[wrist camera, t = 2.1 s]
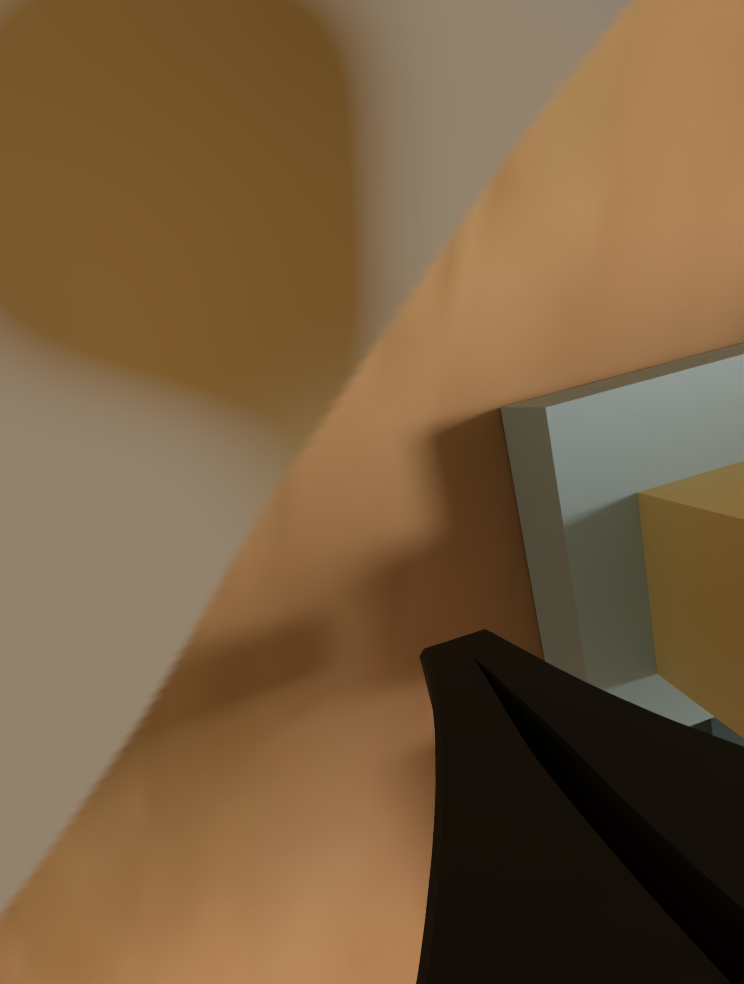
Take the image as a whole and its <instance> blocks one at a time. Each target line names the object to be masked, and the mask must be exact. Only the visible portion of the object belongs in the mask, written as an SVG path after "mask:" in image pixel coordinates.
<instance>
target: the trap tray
mask: <svg viewBox="0 0 744 984" xmlns="http://www.w3.org/2000/svg"><path fill="white" fill-rule="evenodd" d="M500 409H501V415H502V421H503V426H504V432H505V438H506V443H507V449H508V455H509V460H510V466H511V472H512V477H513V483H514V489H515V495H516V500H517V506H518V512H519V517H520V523H521V529H522V534H523V540H524V546H525V552H526V557H527V563H528V569H529V574H530V580H531V586H532V591H533V597H534V603H535V609H536V614H537V620H538V626H539V631H540V637H541V643H542V648H543V654H544V660H545V662H547V663H549V664H551V665H553V666H555V667H557V668H559V669H561V670H563V671H565V672H567V673H569V674H571V675H573V676H575V677H577V678H579V679H581V680H583V681H585V682H587V683H589V684H591V685H593V686H595V687H598V688H600V689H602V690H604V691H606V692H608V693H610V694H613V695H615V696H617V697H619V698H622V699H624V700H626V701H629V702H631V703H633V704H635V705H638V706H640V707H642V708H645V709H647V710H649V711H651V712H654V713H656V714H659V715H661V716H664V717H666V718H669V719H671V720H674V721H676V722H679V723H681V724H684V725H686V726H689V727H692V728H695V729H697V730H700V731H703V732H706V733H708V734H711V735H714V736H716V737H719V738H722V739H725V740H727V741H730V742H733V743H736V744H738V745H741V746H744V739H743V738H742V737H741V736H739V735H738V734H737V733H735V732H734V731H733V730H731V729H730V728H729V727H727V726H726V725H725V724H723V723H722V722H721V721H719V720H718V719H717V718H715V717H714V716H713V715H711V714H710V713H709V712H707V711H706V710H705V709H703V708H702V707H701V706H699V705H698V704H697V703H695V702H694V701H693V700H691V699H690V698H689V697H687V696H686V695H685V694H683V693H682V692H681V691H679V690H678V689H677V688H675V687H674V686H673V685H671V684H670V683H669V682H667V681H666V680H665V679H663V678H662V677H661V676H659V675H658V674H657V666H656V657H655V648H654V639H653V630H652V621H651V612H650V603H649V594H648V584H647V575H646V566H645V557H644V548H643V539H642V530H641V521H640V511H639V502H638V493H637V492H640V491H644V490H647V489H650V488H654V487H657V486H660V485H664V484H667V483H670V482H674V481H677V480H680V479H684V478H687V477H691V476H694V475H697V474H701V473H704V472H707V471H711V470H714V469H717V468H721V467H724V466H727V465H731V464H734V463H737V462H741V461H744V343H740V344H736V345H732V346H729V347H725V348H721V349H717V350H714V351H710V352H706V353H702V354H699V355H695V356H691V357H687V358H684V359H680V360H676V361H672V362H669V363H665V364H661V365H657V366H654V367H650V368H646V369H642V370H638V371H635V372H631V373H627V374H623V375H620V376H616V377H612V378H608V379H605V380H601V381H597V382H593V383H590V384H586V385H582V386H578V387H575V388H571V389H567V390H563V391H560V392H556V393H552V394H548V395H544V396H541V397H537V398H533V399H529V400H526V401H522V402H518V403H514V404H511V405H507V406H503V407H500Z"/></svg>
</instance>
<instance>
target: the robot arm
mask: <svg viewBox="0 0 744 984" xmlns="http://www.w3.org/2000/svg"><path fill="white" fill-rule="evenodd" d="M420 660H421V664H422V668H423V672H424V676H425V680H426V684H427V688H428V692H429V696H430V700H431V704H432V708H433V715H434V726H435V757H436V791H435V816H434V832H433V846H432V859H431V870H430V879H429V888H428V898H427V907H426V917H425V925H424V933H423V941H422V948H421V956H420V963H419V970H418V976H417V982H416V984H744V746H741V745H738V744H736V743H733V742H730V741H727V740H725V739H722V738H719V737H716V736H714V735H711V734H708V733H706V732H703V731H700V730H697V729H695V728H692V727H689V726H686V725H684V724H681V723H679V722H676V721H674V720H671V719H669V718H666V717H664V716H661V715H659V714H656V713H654V712H651V711H649V710H647V709H645V708H642V707H640V706H638V705H635V704H633V703H631V702H629V701H626V700H624V699H622V698H619V697H617V696H615V695H613V694H610V693H608V692H606V691H604V690H602V689H600V688H598V687H595V686H593V685H591V684H589V683H587V682H585V681H583V680H581V679H579V678H577V677H575V676H573V675H571V674H569V673H567V672H565V671H563V670H561V669H559V668H557V667H555V666H553V665H551V664H549V663H547V662H545V661H543V660H541V659H540V658H538V657H536V656H534V655H532V654H530V653H528V652H527V651H525V650H523V649H521V648H519V647H517V646H515V645H514V644H512V643H510V642H508V641H506V640H505V639H503V638H501V637H499V636H497V635H495V634H494V633H492V632H490V631H488V630H486V629H484V630H481V631H478V632H475V633H472V634H469V635H465V636H462V637H459V638H456V639H453V640H450V641H447V642H444V643H441V644H437V645H434V646H431V647H428V648H425V649H424V650H423V651H422V653H421V655H420Z"/></svg>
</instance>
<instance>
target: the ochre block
mask: <svg viewBox="0 0 744 984" xmlns="http://www.w3.org/2000/svg"><path fill="white" fill-rule="evenodd" d="M637 493H638V502H639V511H640V521H641V530H642V539H643V548H644V557H645V566H646V575H647V584H648V594H649V603H650V612H651V621H652V630H653V639H654V648H655V657H656V666H657V674H658V675H659V676H661V677H662V678H663V679H665V680H666V681H667V682H669V683H670V684H671V685H673V686H674V687H675V688H677V689H678V690H679V691H681V692H682V693H683V694H685V695H686V696H687V697H689V698H690V699H691V700H693V701H694V702H695V703H697V704H698V705H699V706H701V707H702V708H703V709H705V710H706V711H707V712H709V713H710V714H711V715H713V716H714V717H715V718H717V719H718V720H719V721H721V722H722V723H723V724H725V725H726V726H727V727H729V728H730V729H731V730H733V731H734V732H735V733H737V734H738V735H739V736H741V737H742V738H743V739H744V461H741V462H737V463H734V464H731V465H727V466H724V467H721V468H717V469H714V470H711V471H707V472H704V473H701V474H697V475H694V476H691V477H687V478H684V479H680V480H677V481H674V482H670V483H667V484H664V485H660V486H657V487H654V488H650V489H647V490H644V491H640V492H637Z"/></svg>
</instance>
